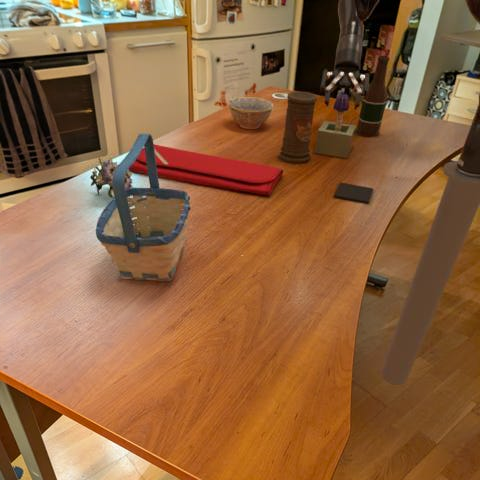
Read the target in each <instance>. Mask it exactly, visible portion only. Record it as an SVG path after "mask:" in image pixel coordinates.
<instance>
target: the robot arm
mask: <svg viewBox="0 0 480 480" xmlns="http://www.w3.org/2000/svg"><path fill="white" fill-rule="evenodd" d="M379 2H380V0H338V4H337V13H338V20H339V21H338V22H339V27H340V32H339V38H338V43H337V47H336V51H335V61H334V67H333V71H329V70H328V69H327V68H325V69H324V70H323V72H322V77H321V81H320V88H319V91H320V93H324V100H323V103H324V105H325V107H329V104H330V99H331V93H332V92H333V91H335V90H336V89H337V88H338V89H339V90H341V89H342V90H343V89H344V90H351V92H352V93H353V94H354V95H355V100H354V106H353V107H354V108H353V109H354V110H357V109H358V108H360V105H361V100H362V98H363V97H364V96H367V93H368V90H369V86H370V73H369V72H366V73H365V74H361V73H360V70H361V69H360V68H361V61H362V54H363V38H364V31H365V25H364V23H363V22H366V20H367V19H369V18H370V16H371V14H372V13H373V11H374V9H375V8H376V7H377V5H378V3H379ZM464 2H465V4H466V6H467V9H468V11H469V12H470V14H471V16H472V18H473V19H474V21H476V23H477V24H478V25H479V26H480V0H464ZM330 78H331V79H332V80H331V82H330V84H329V85H326V84H327V83H326V82H327V81H328V80H329V79H330ZM359 81H361V83H362V84H363V89H362V88H361V87H360V83H359ZM457 161H458V162H457V165H456V168H455V169H456V171H458V172H459V173H461V174H463V175H466V176H470V177H477V178H480V93H479V94H478V104H477V107H476V110H475V113H474V116H473V119H472V122H471V124H470V127H469V130H468V133H467V136H466V138H465V141H464V144H463V147H462V150H461V152H460V155H459V157H458V159H457Z"/></svg>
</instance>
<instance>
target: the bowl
mask: <svg viewBox="0 0 480 480" xmlns="http://www.w3.org/2000/svg"><path fill="white" fill-rule="evenodd" d="M227 105H228V107H229V111H230V114H231V116H232V118H233V120H234V121H235V122H236V123H237V124H239V127H241V128H242V129H246V130H256V129H258V128H260V125H262V124H264V123H265V122H267V120H268V119H269V117H270V116H271V112H272V111H273V109H274V107H275V105H274V103H273V102H271V101H270V100H267V99H264V98H261V97H254V96H253V97H250V96H241V97H233V98H231V99H229V100H228V101H227Z"/></svg>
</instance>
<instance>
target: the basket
mask: <svg viewBox="0 0 480 480" xmlns="http://www.w3.org/2000/svg"><path fill="white" fill-rule="evenodd" d="M154 144H155V143H154V139H153V136H152V134H151V133H138V135H137V137H136V139H135V141H134V143H133V145H132V147H131V148H130V150H129V152H128V153H127V154H126V156H125V157H124V158H123V159H122V160H121V161H120V162H119V165H118V164H117V165H118V166H117V167H116V169H115V171H114V173H113V178H112V187H113V192H114V197H112V199H111V200H110V201H109V202H108V203H107V205H106V206H105V207H104V208H103V210H102V211H101V213H100V215H99V217H98V220H97V222H96V227H95V236H96V239H97V240H98V241H99V242H100V244H101V245H102V246H103V247H105V250H106V252H107V254H108V255H110V259H111V261H112V263H115V266H116V269H117V270H118V271H119V277H120V278H122V279H125V280H135V281H141V282H142V281H158V282H159V281H160V282H170V281H172V279H173V278H174V275H175V273H176V270H177V267H178V263H179V262H180V258H181V255H182V253H183V251H184V247H185V244H186V242H187V235H188V231H187V230H188V229H187V227H188V226H189V221H188V219H189V218H190V213H189V212H190V211H191V209H192V208H191V204H190V203H191V202H190V199H191V196H190V195H188V192H187V191H184V190H180V189H173V188H164V187H161V188H160V181H159V176H158V174H157V166H156V158H155V150H154ZM143 148H144V149H145V156H146V163H147V170H148V174H147V176H148V182H149V187H133V188H129V189H125V175H126V172H127V171H128V172H129V170H128V169H129V168H130V167H131V165H132V164H133V163H134V162H135V160H136V159H137V158H138V156H139V155H140V153H141V151H142V149H143ZM128 196H129V198H127V197H128ZM133 206H134V207H133ZM132 207H133V208H132Z"/></svg>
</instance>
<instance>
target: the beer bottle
mask: <svg viewBox="0 0 480 480" xmlns="http://www.w3.org/2000/svg"><path fill="white" fill-rule="evenodd" d="M376 60H377V63H376V68H375V70H374V75H373V79H372V81H371V83H370V84H369V90H368V93H367V96H362V102H361V107H360V112H359V117H358V121H357V125H356V133H358V134H359V136H364V137H377V135H379V133H380V129H381V126H382V121H383V117H384V113H385V109H386V104H387V101H388V100H387V99H388V89H387V87H386V77H387V71H388V65H389V62H390V56H388V55H379V56H378V57H377V59H376Z"/></svg>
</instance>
